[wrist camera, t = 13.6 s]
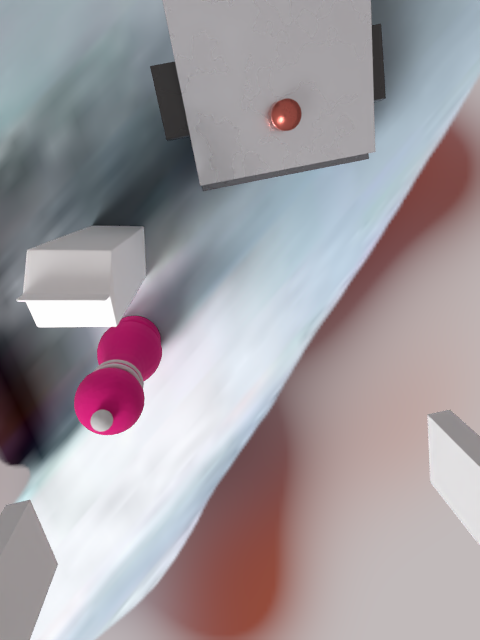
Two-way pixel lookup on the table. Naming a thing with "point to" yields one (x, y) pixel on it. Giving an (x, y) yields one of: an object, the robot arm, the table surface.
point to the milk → (85, 277)
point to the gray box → (178, 125)
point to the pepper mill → (119, 377)
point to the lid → (273, 82)
